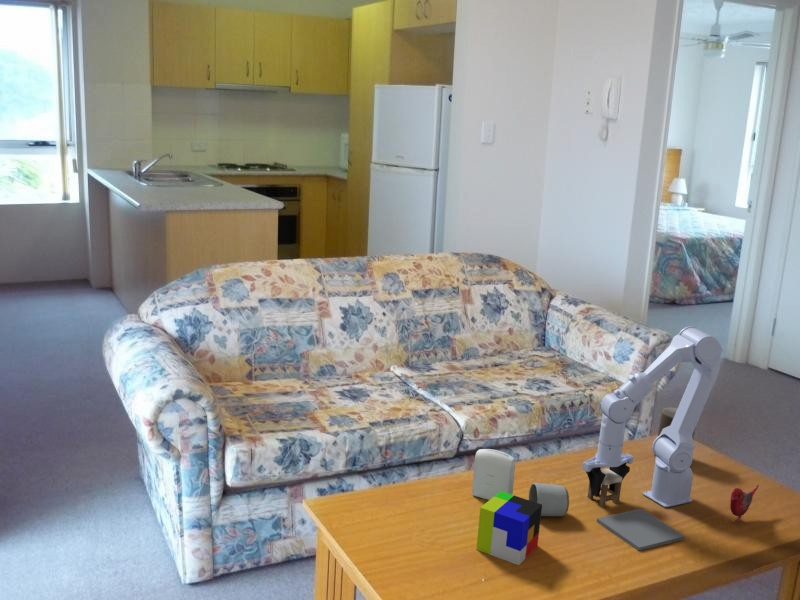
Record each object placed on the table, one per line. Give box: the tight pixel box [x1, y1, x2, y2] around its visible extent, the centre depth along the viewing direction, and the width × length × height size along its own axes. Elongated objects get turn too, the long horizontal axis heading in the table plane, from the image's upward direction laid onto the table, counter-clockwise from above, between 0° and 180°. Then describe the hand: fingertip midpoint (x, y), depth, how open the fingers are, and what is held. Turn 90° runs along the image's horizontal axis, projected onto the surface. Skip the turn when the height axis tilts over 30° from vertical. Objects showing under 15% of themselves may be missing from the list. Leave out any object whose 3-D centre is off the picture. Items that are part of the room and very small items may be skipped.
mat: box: [596, 508, 686, 552], centre depth 192 cm, size 14×14×1 cm
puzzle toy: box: [475, 491, 542, 566], centre depth 180 cm, size 10×10×10 cm
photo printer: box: [471, 448, 516, 501], centre depth 202 cm, size 10×4×12 cm, turn 63°
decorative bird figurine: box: [729, 484, 759, 524], centre depth 200 cm, size 3×18×10 cm, turn 137°
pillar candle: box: [654, 407, 697, 458], centre depth 233 cm, size 10×10×15 cm
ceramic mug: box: [528, 482, 570, 517], centre depth 198 cm, size 11×8×8 cm
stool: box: [587, 467, 623, 508], centre depth 205 cm, size 5×5×7 cm
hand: (604, 493), depth 206 cm, fingers closed on stool, 5 cm apart
